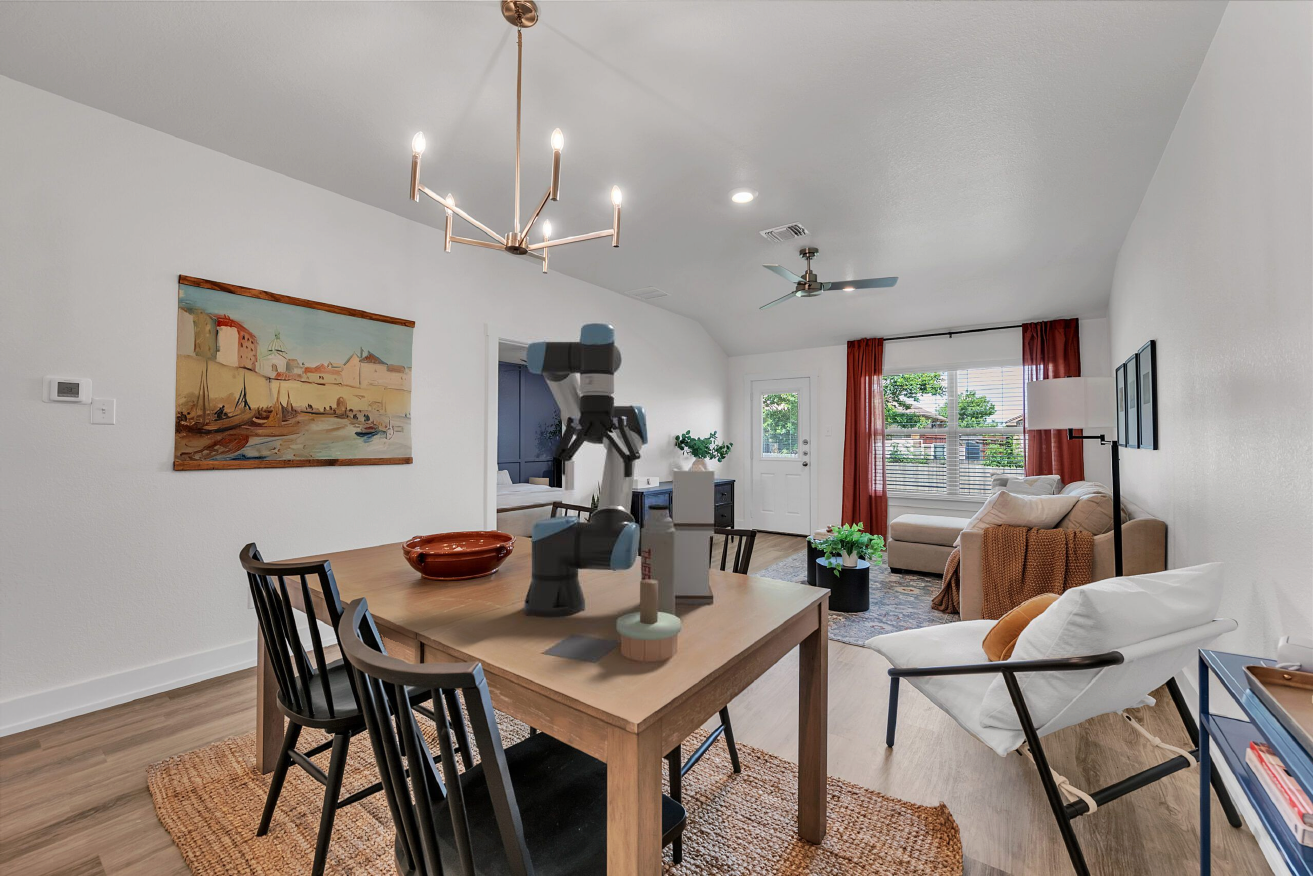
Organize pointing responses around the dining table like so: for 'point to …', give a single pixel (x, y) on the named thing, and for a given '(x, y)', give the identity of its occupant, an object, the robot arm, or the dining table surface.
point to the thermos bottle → (659, 555)
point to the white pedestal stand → (693, 534)
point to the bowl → (649, 648)
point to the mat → (582, 648)
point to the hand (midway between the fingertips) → (596, 491)
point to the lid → (648, 617)
